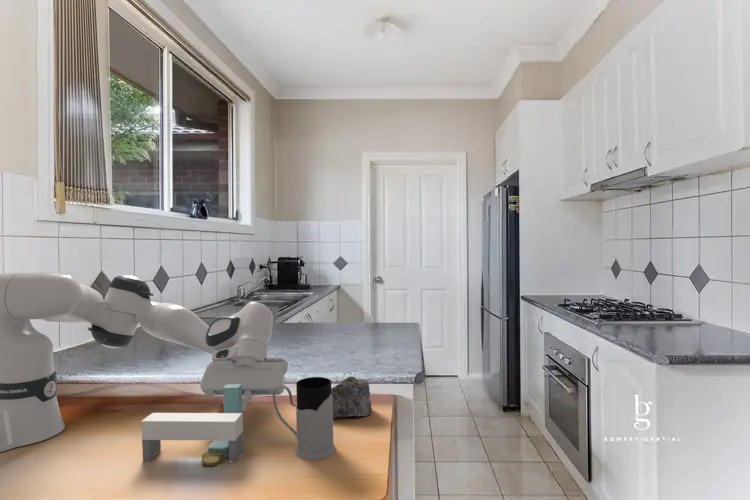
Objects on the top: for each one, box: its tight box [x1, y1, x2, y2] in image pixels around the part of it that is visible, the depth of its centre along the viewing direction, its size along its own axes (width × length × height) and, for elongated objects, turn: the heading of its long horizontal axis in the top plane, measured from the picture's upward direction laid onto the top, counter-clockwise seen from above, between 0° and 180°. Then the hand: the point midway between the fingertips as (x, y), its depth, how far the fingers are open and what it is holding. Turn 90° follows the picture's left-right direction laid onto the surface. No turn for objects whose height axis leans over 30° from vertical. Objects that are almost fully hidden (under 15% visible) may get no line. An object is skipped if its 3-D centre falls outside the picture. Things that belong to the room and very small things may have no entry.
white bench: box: [140, 412, 244, 462], centre depth 101 cm, size 20×4×8 cm, turn 87°
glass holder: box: [272, 376, 336, 461], centre depth 103 cm, size 9×14×15 cm, turn 74°
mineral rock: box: [331, 376, 373, 418], centre depth 122 cm, size 13×11×10 cm
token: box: [201, 450, 223, 468], centre depth 98 cm, size 4×4×2 cm
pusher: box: [207, 384, 244, 459], centre depth 106 cm, size 4×12×12 cm, turn 177°
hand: (237, 410), depth 112 cm, fingers closed, pressing on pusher
